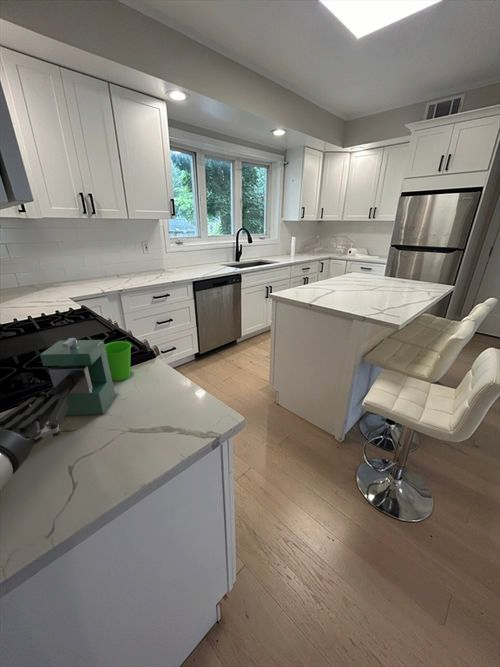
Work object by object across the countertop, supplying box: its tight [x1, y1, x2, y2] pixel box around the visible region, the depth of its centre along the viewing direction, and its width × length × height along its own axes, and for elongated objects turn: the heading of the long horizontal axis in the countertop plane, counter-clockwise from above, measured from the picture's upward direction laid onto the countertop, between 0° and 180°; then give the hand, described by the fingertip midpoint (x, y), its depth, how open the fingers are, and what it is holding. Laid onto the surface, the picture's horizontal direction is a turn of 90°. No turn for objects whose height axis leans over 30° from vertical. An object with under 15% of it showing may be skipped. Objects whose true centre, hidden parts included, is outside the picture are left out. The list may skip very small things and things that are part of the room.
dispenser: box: [39, 337, 116, 416], centre depth 71 cm, size 11×8×20 cm
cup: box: [104, 340, 133, 382], centre depth 86 cm, size 9×9×11 cm
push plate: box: [48, 366, 93, 394], centre depth 66 cm, size 8×2×7 cm, turn 94°
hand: (69, 382), depth 66 cm, fingers closed
